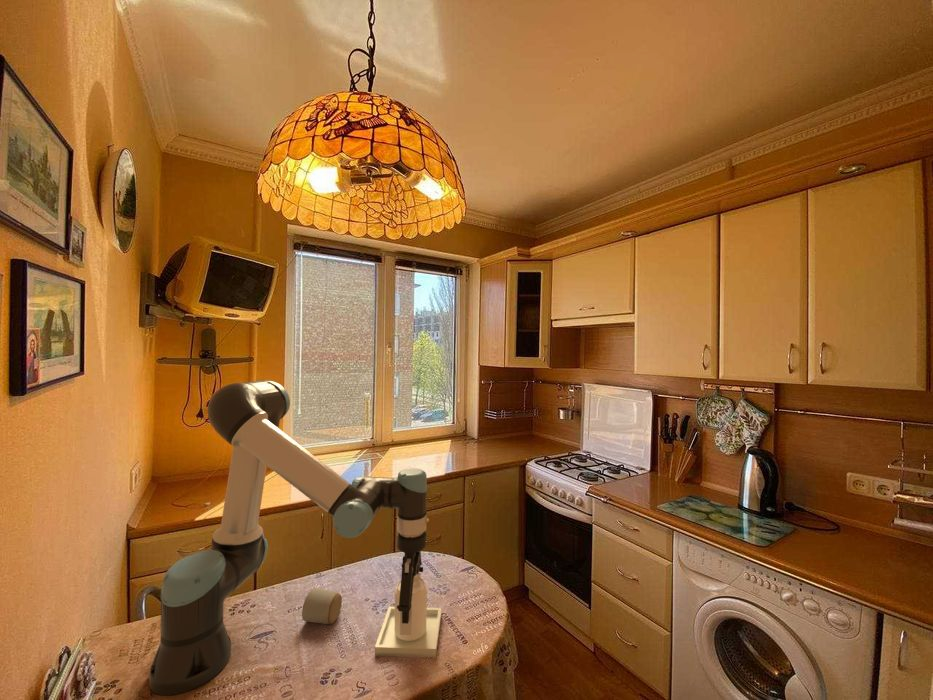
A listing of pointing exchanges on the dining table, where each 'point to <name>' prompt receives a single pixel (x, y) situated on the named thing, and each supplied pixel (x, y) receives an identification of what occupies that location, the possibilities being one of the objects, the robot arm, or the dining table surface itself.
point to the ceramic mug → (321, 606)
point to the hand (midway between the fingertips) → (410, 614)
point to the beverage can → (413, 610)
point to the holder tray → (417, 648)
